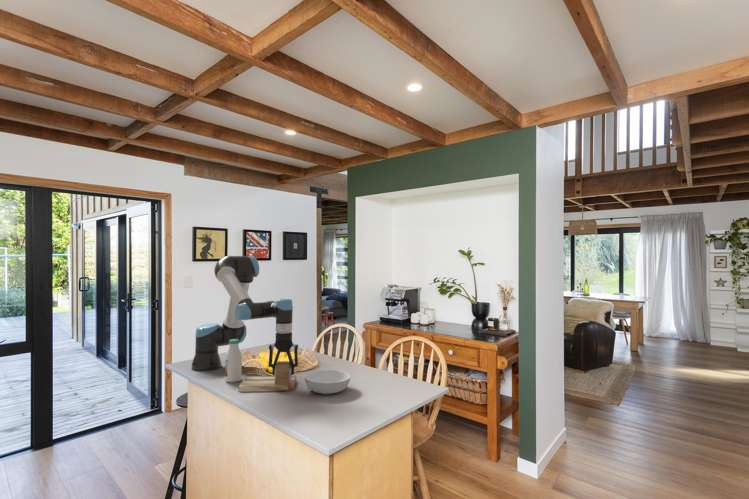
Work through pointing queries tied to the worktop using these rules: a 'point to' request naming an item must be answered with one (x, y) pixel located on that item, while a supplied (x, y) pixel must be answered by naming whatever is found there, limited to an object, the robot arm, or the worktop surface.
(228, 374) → the milk bottle
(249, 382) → the maple board
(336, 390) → the serving bowl
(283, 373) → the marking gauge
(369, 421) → the worktop surface
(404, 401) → the worktop surface
